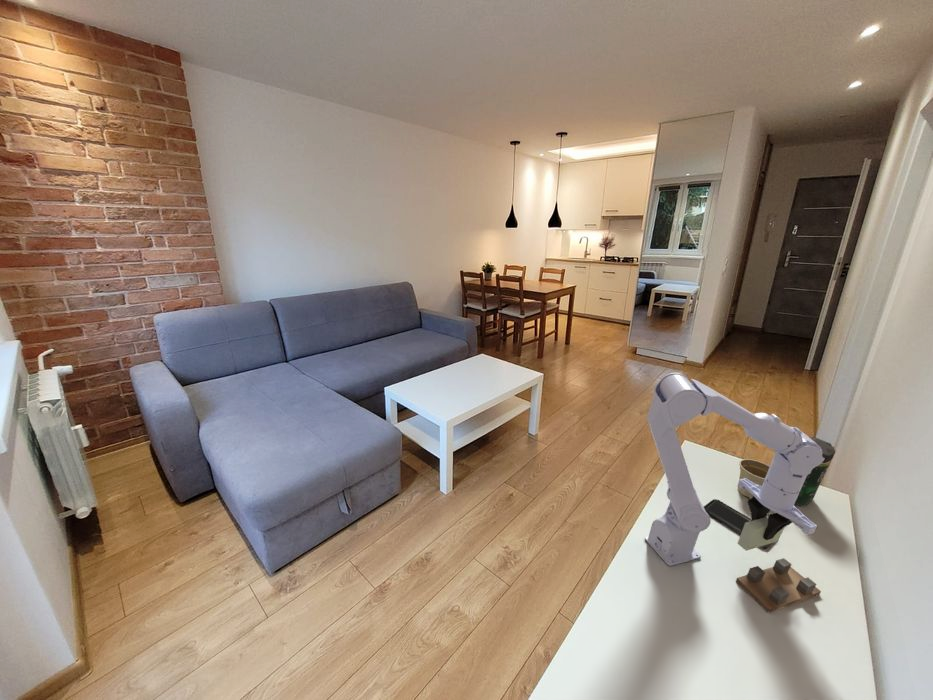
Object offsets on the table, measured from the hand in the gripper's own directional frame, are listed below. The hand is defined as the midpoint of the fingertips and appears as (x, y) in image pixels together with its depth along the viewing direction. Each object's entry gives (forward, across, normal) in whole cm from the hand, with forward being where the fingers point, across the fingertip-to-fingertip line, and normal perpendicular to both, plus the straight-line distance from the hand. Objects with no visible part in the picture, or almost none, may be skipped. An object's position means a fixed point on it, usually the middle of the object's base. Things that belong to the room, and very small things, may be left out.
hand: (761, 533), depth 81 cm
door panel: (+3, 0, 0) cm, 3 cm away
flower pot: (+9, +18, -24) cm, 31 cm away
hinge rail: (+9, -6, 0) cm, 11 cm away
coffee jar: (+9, +13, -36) cm, 40 cm away
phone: (+10, +10, -9) cm, 16 cm away
